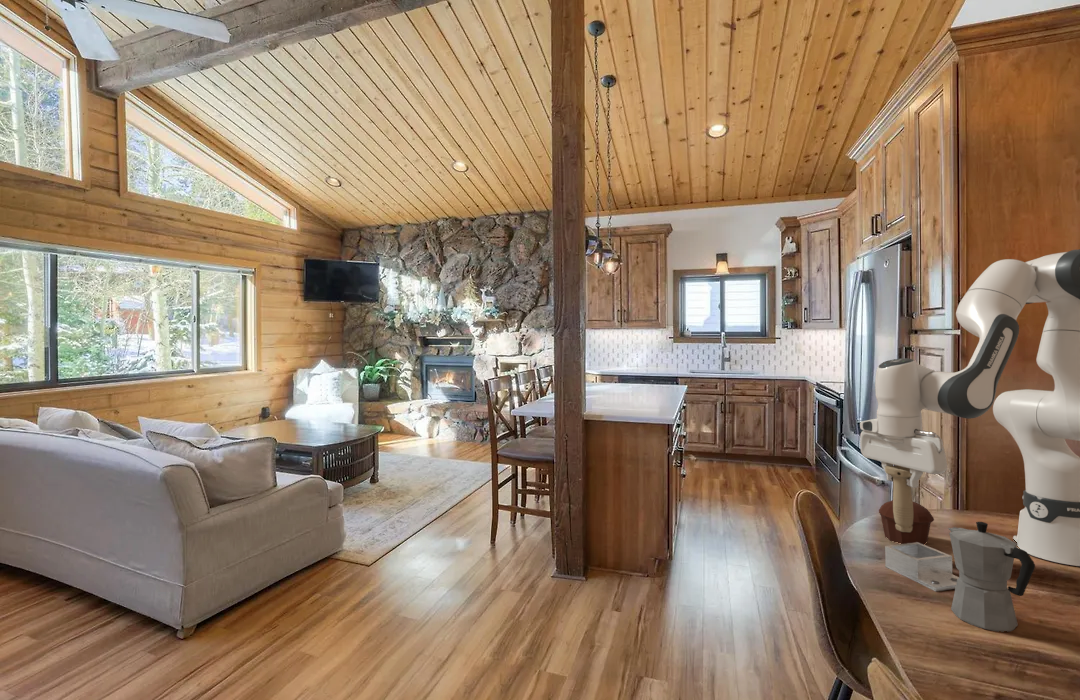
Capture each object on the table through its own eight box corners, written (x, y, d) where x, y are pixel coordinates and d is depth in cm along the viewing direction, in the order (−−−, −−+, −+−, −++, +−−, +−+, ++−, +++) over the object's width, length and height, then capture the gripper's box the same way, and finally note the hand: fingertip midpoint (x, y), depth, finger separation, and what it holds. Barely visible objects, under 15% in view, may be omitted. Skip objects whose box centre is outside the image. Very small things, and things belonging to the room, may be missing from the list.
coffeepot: (929, 602, 99) (927, 511, 99) (972, 599, 100) (971, 509, 100) (1009, 649, 84) (1007, 541, 84) (1059, 644, 85) (1058, 538, 85)
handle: (918, 536, 117) (915, 472, 117) (885, 530, 121) (882, 468, 121) (922, 530, 120) (919, 468, 120) (890, 524, 125) (888, 464, 125)
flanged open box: (918, 562, 117) (917, 542, 117) (971, 586, 105) (971, 563, 105) (885, 566, 115) (885, 545, 115) (935, 591, 103) (935, 568, 103)
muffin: (873, 540, 131) (873, 501, 131) (884, 528, 139) (883, 492, 139) (930, 552, 122) (930, 511, 122) (938, 539, 130) (937, 501, 130)
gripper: (953, 432, 111) (956, 494, 111) (875, 419, 131) (877, 472, 131) (929, 434, 110) (932, 497, 110) (854, 421, 130) (857, 475, 130)
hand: (902, 483), depth 121 cm, fingers closed on handle, 4 cm apart
